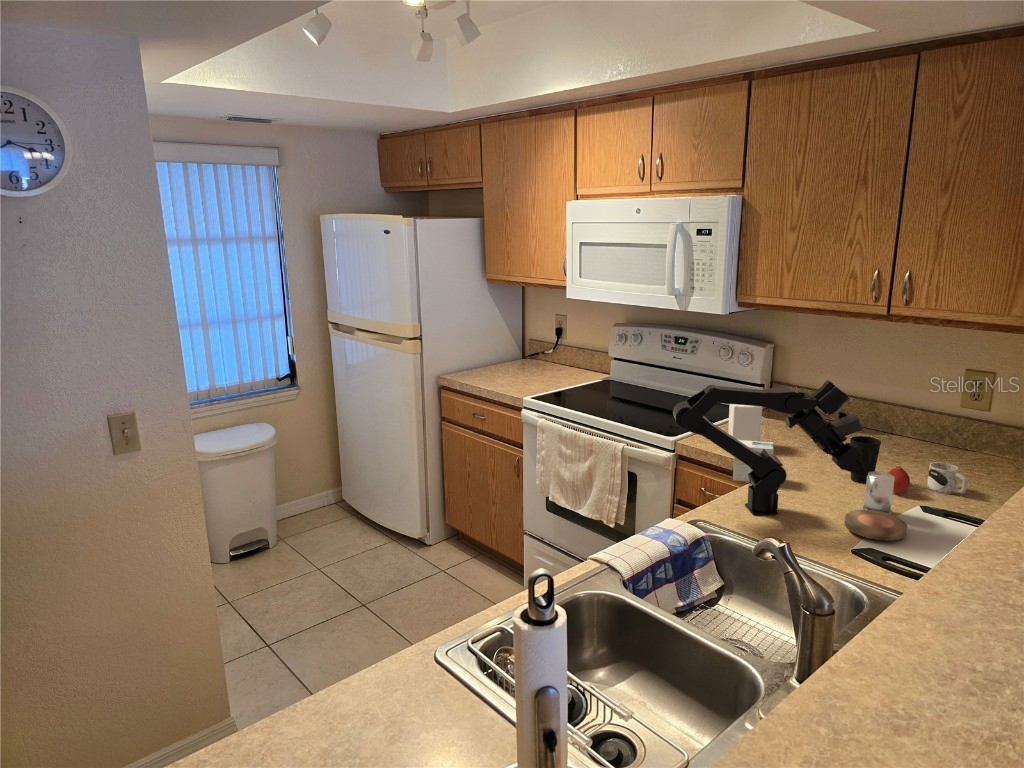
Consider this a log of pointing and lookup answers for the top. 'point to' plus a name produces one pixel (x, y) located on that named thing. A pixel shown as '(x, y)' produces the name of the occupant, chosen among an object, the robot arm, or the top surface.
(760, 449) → the light bulb box
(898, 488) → the onion
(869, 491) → the canister
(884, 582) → the top surface
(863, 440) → the cup
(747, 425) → the supplement box
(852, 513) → the turntable
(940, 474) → the mug
